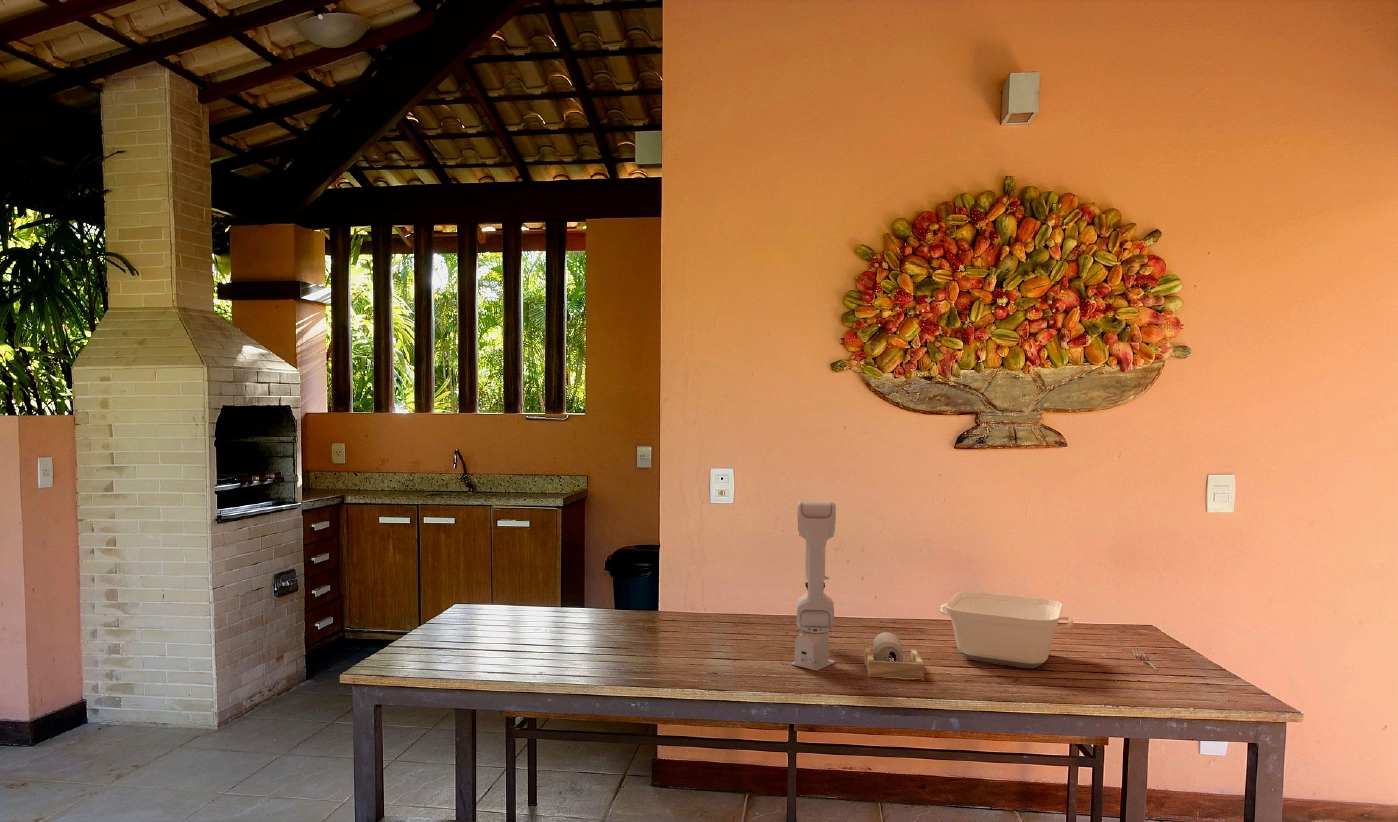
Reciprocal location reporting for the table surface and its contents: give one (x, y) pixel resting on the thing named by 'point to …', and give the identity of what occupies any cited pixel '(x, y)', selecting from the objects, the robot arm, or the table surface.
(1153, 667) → the fork
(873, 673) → the tray
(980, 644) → the pot
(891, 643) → the can
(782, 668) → the table surface
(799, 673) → the table surface
